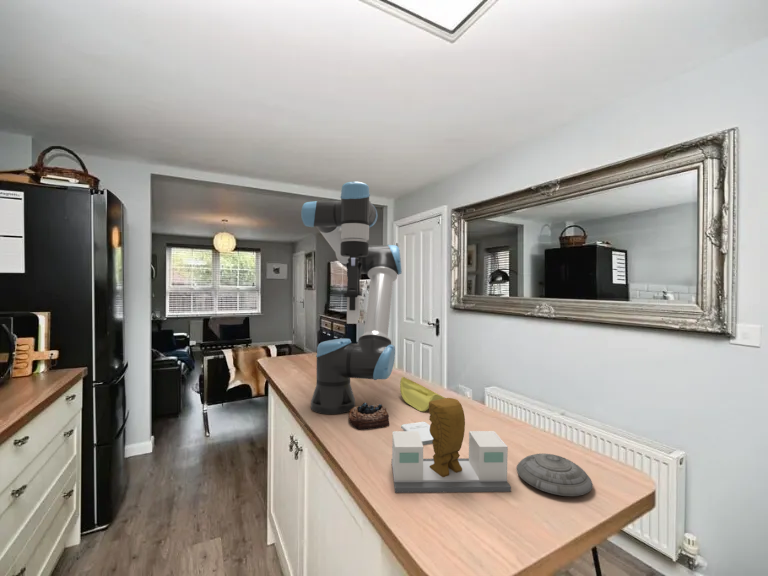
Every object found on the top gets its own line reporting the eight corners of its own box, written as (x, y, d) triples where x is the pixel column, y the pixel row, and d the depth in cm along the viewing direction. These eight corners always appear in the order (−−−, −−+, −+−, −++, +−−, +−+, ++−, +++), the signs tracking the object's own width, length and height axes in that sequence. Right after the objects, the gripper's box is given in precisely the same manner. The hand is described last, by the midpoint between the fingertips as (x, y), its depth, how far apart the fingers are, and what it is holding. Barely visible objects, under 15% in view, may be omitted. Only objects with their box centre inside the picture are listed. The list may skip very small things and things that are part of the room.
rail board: (391, 463, 84) (392, 427, 83) (490, 462, 84) (491, 427, 84) (395, 492, 72) (395, 451, 72) (510, 491, 72) (511, 451, 72)
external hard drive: (419, 447, 93) (400, 429, 105) (446, 443, 96) (425, 426, 108) (419, 441, 93) (401, 424, 105) (446, 437, 96) (425, 420, 108)
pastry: (393, 427, 105) (393, 408, 105) (354, 432, 101) (354, 412, 101) (381, 414, 116) (381, 397, 116) (345, 418, 112) (346, 400, 112)
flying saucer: (503, 478, 78) (503, 453, 78) (537, 458, 87) (537, 436, 87) (573, 512, 66) (573, 483, 66) (604, 485, 76) (604, 460, 76)
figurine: (449, 460, 83) (450, 396, 82) (469, 472, 77) (470, 404, 77) (425, 467, 79) (426, 400, 79) (444, 481, 73) (445, 410, 73)
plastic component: (451, 401, 123) (432, 392, 118) (443, 421, 122) (423, 413, 117) (417, 383, 140) (399, 375, 135) (409, 400, 138) (391, 393, 133)
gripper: (344, 246, 106) (343, 316, 106) (336, 234, 81) (334, 325, 81) (368, 247, 107) (367, 316, 107) (368, 235, 82) (367, 326, 82)
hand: (353, 321), depth 94 cm, fingers open, 13 cm apart
